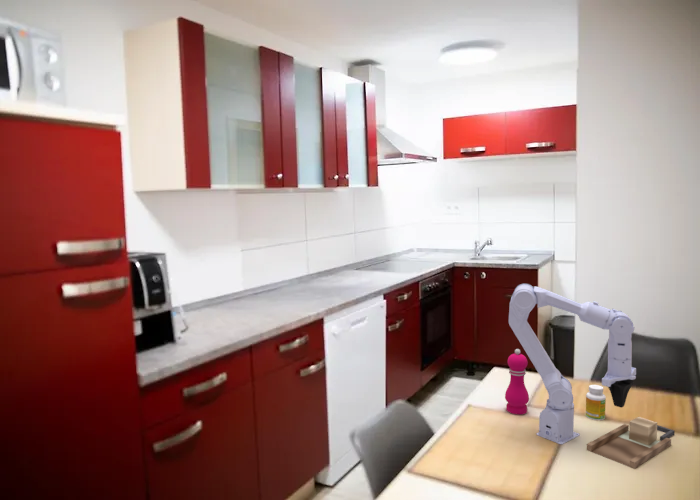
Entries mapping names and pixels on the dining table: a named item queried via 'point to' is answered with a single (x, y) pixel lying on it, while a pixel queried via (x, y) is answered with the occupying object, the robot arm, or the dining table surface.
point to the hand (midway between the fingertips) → (619, 405)
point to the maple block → (643, 430)
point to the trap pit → (667, 432)
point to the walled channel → (626, 447)
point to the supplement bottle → (595, 403)
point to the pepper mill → (517, 384)
